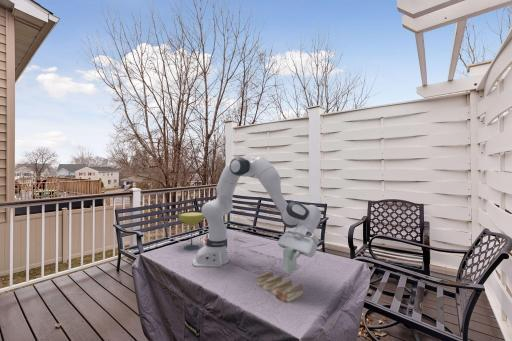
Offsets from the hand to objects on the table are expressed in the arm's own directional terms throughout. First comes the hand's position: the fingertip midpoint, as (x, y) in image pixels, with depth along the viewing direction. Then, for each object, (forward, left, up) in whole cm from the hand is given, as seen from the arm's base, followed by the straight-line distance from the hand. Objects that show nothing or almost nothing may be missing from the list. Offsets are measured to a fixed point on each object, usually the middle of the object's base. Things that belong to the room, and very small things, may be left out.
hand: (288, 258), depth 117 cm
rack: (-3, +6, -17) cm, 18 cm away
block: (+1, 0, -5) cm, 5 cm away
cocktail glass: (-47, +77, -17) cm, 92 cm away
